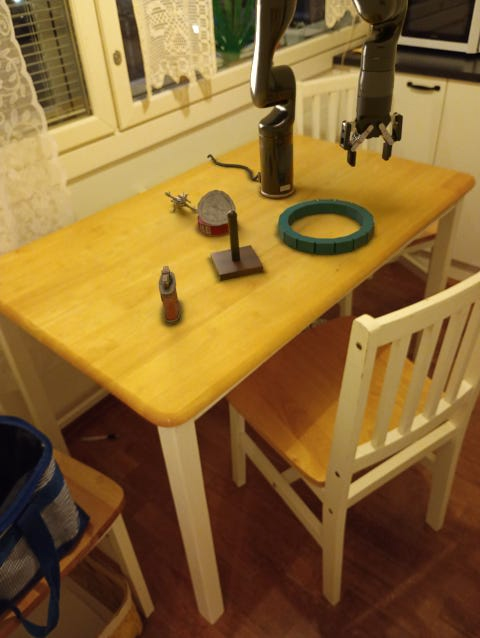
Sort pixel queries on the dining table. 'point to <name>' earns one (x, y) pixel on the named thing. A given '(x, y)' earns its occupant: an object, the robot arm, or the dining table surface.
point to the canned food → (214, 213)
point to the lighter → (169, 296)
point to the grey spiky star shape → (180, 201)
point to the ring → (326, 244)
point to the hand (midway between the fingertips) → (368, 162)
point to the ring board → (238, 266)
